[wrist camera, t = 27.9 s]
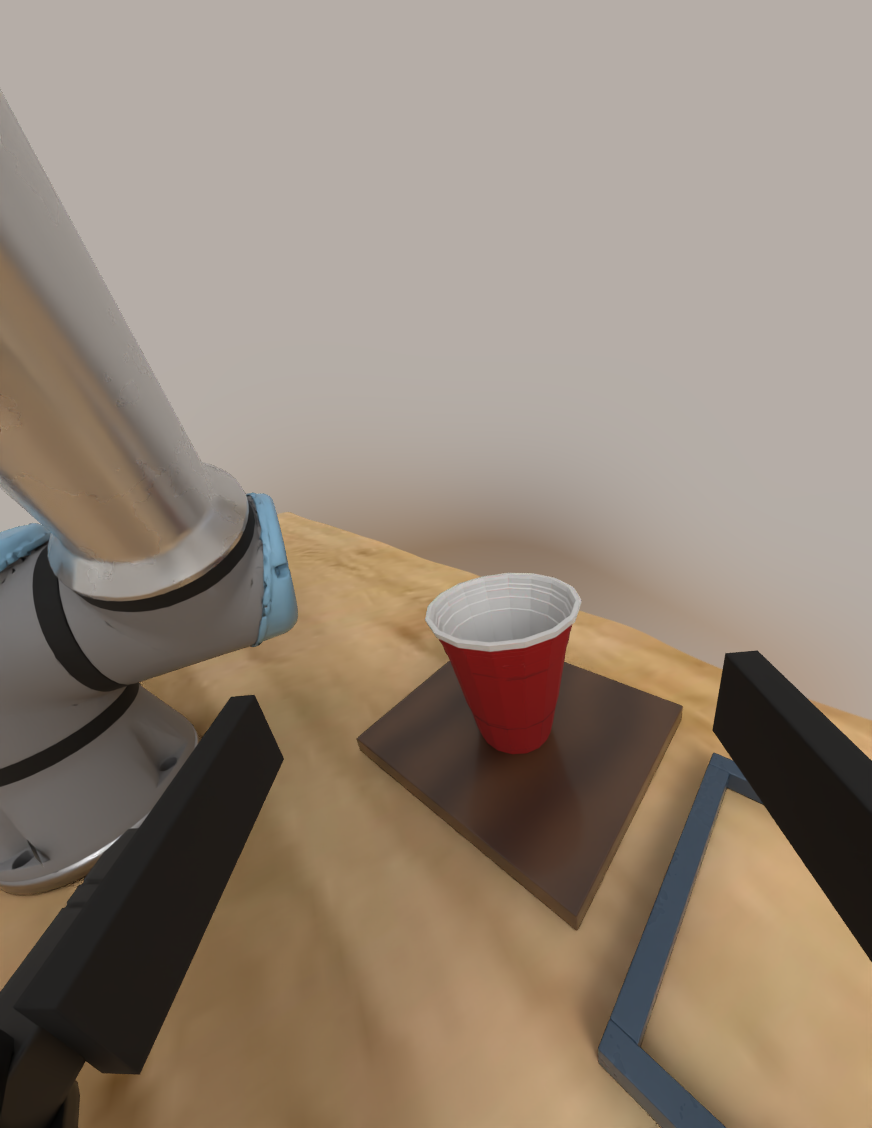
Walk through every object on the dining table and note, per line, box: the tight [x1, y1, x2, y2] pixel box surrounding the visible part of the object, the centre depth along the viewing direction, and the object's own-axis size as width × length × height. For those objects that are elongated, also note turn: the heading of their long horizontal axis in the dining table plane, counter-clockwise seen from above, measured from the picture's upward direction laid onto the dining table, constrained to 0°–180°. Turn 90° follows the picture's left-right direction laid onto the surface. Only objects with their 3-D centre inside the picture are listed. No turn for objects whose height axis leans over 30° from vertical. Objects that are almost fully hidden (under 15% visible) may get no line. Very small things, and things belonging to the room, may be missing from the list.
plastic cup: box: [425, 573, 581, 754], centre depth 31 cm, size 11×11×12 cm
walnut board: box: [357, 661, 683, 930], centre depth 34 cm, size 20×18×2 cm
